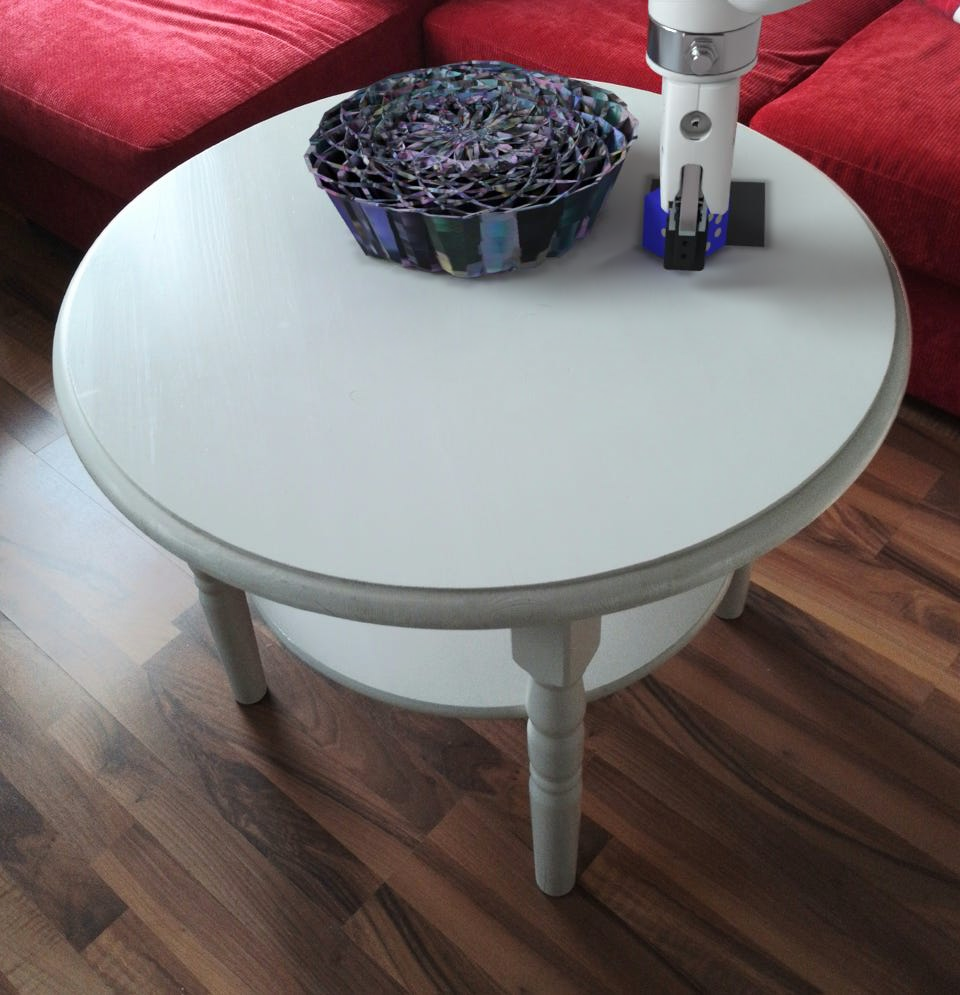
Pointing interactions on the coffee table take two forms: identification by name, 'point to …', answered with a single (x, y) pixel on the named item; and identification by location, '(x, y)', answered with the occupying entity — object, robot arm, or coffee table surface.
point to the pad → (742, 213)
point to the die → (657, 226)
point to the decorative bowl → (471, 165)
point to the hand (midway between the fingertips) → (683, 264)
